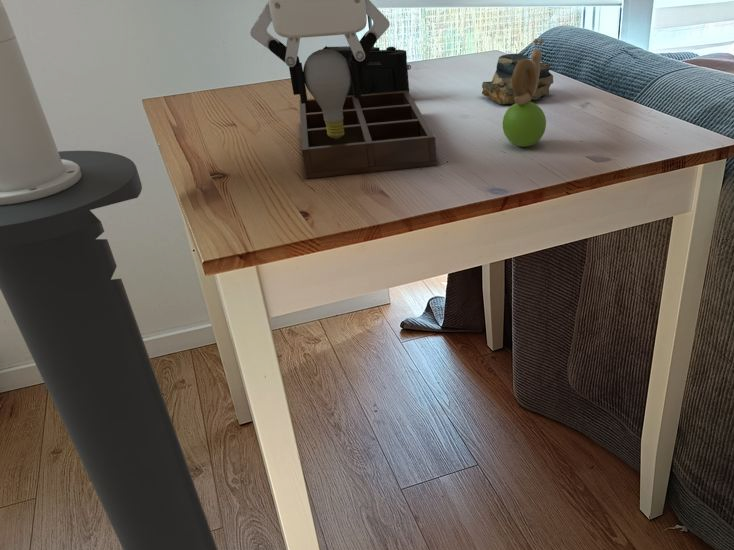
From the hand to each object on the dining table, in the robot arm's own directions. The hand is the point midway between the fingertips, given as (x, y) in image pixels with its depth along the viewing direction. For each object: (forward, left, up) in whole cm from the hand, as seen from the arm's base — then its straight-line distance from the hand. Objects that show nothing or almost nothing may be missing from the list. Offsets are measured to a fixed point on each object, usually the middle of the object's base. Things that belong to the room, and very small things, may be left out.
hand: (330, 96), depth 79 cm
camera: (+7, +30, -8) cm, 32 cm away
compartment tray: (+4, +7, -8) cm, 11 cm away
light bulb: (0, 0, -5) cm, 5 cm away
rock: (+28, +22, -8) cm, 37 cm away
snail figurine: (+24, 0, -8) cm, 25 cm away
